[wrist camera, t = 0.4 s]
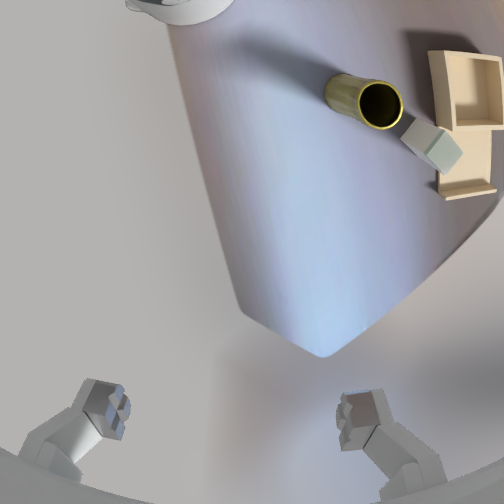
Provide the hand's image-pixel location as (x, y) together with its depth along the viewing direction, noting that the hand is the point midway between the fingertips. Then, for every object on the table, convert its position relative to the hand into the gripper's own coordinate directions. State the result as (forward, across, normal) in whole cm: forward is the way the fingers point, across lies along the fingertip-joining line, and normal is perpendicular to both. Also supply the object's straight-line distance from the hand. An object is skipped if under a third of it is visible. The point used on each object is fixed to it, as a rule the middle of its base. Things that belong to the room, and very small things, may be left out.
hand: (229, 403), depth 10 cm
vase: (+38, -13, -12) cm, 42 cm away
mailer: (+38, -35, -11) cm, 52 cm away
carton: (+38, -26, -7) cm, 46 cm away
